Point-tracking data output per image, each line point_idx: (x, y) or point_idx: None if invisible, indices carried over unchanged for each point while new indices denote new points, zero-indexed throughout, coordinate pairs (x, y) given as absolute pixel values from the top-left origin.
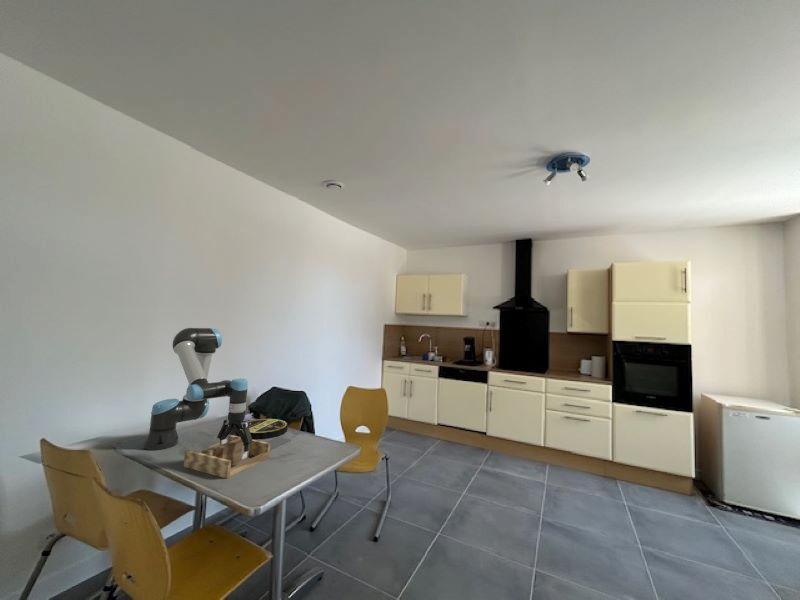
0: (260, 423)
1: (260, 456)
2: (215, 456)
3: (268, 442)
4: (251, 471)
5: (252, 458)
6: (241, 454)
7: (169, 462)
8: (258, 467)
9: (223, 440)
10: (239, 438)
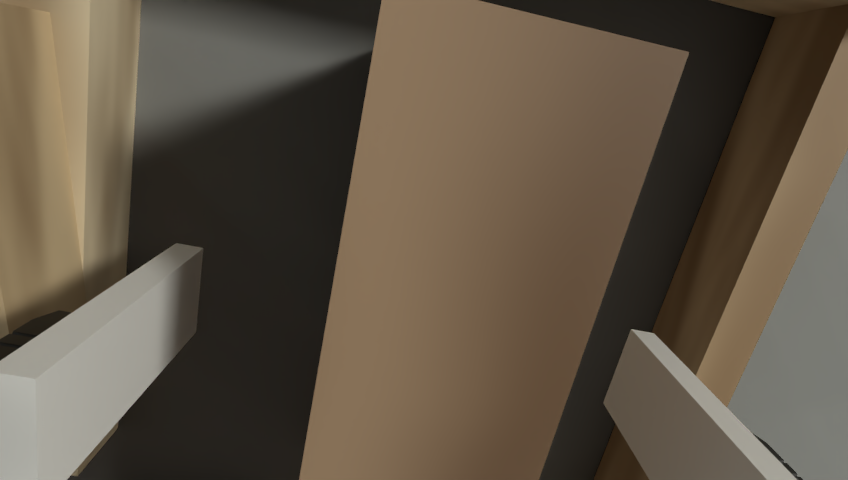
0: None
1: (816, 189)
2: (100, 282)
3: None
4: (752, 418)
5: (741, 319)
6: (633, 451)
7: None
8: (794, 319)
9: (39, 478)
10: (377, 251)
